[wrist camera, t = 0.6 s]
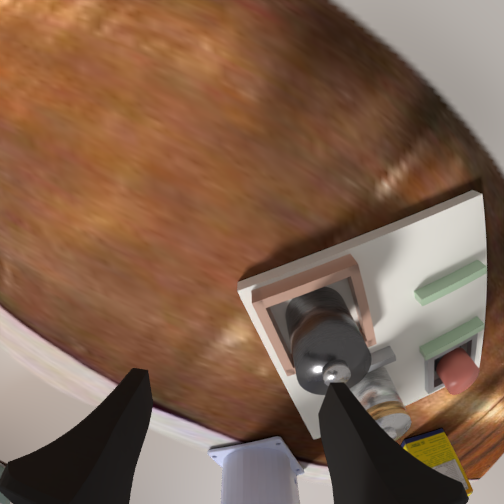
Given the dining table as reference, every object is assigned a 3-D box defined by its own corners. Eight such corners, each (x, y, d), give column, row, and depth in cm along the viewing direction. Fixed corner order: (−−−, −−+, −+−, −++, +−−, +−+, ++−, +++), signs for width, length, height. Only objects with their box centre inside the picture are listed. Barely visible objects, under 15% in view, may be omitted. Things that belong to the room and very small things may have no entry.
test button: (464, 365, 22) (476, 383, 20) (435, 380, 23) (447, 400, 20) (466, 341, 21) (480, 359, 19) (436, 357, 22) (449, 377, 19)
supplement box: (389, 462, 31) (410, 527, 21) (403, 438, 29) (430, 511, 19) (427, 451, 31) (451, 511, 21) (443, 426, 29) (474, 491, 19)
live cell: (390, 387, 23) (414, 440, 18) (346, 404, 24) (363, 460, 18) (385, 357, 22) (414, 413, 16) (337, 376, 22) (356, 436, 17)
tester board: (473, 360, 24) (486, 376, 22) (311, 430, 27) (315, 451, 24) (472, 189, 18) (495, 199, 15) (237, 281, 20) (236, 303, 18)
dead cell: (350, 324, 20) (379, 386, 15) (296, 345, 21) (309, 411, 15) (337, 276, 19) (368, 334, 13) (276, 299, 19) (287, 364, 14)
